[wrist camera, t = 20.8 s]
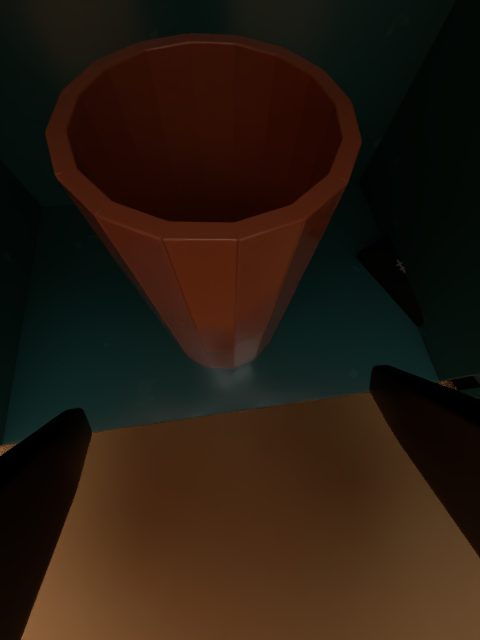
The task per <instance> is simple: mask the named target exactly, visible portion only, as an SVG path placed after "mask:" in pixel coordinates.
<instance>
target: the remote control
mask: <svg viewBox="0 0 480 640" xmlns="http://www.w3.org/2000/svg"><path fill="white" fill-rule="evenodd" d="M356 258H357V259H358V260H359V261H360V263H361V264H362V265H363V266H364V267H365V268H366V269H367V270H368V272H369V273H370V274H371V275H372V276H373V277H374V278H375V279H376V281H377V282H378V283H379V284H380V285H381V286H382V287H383V289H384V290H385V291H386V292H387V293H388V294H389V295H390V296H391V298H392V299H393V300H394V301H395V302H396V303H397V304H398V305H399V307H400V308H401V309H402V310H403V311H404V312H405V313H406V314H407V316H408V317H409V318H410V319H411V320H412V321H413V322H414V323H415V325H416V326H417V327H418V326H420V325H422V324H424V323H425V322H424V319H423V316H422V313H421V311H420V308H419V306H418V303H417V301H416V298H415V296H414V294H413V291H412V289H411V286H410V284H409V282H408V279H407V277H406V274H405V273H406V270H405V267H404V265H403V263H402V260H401V258H400V256H398V255H397V253H396V251H395V248H394V246H393V243H392V241H391V239H390V236H389V235H388V236H386V237H384V238H382V239H381V240H379V241H377V242H375V243H373V244H371V245H370V246H368V247H366V248H364V249H363V250H361V251H360V252H359V253H358V255H357V256H356ZM453 381H454V382H455V383H456V384H457V385H458V386H459V387H460V389H461V390H465V389H472V388H480V375H476V376H471V377H466V378H460V379H455V380H453Z"/></svg>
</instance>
